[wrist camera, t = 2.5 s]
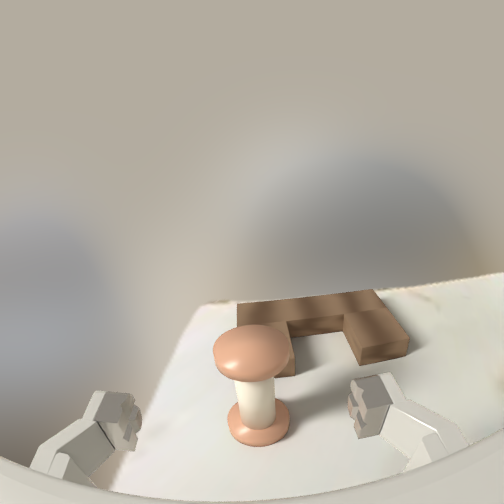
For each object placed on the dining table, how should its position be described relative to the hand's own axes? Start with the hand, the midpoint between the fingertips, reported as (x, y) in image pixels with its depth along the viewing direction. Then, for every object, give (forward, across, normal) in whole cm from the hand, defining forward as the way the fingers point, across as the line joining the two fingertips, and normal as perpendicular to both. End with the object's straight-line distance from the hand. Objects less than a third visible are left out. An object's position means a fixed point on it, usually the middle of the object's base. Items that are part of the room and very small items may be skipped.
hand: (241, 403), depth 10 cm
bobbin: (+13, 0, +19) cm, 23 cm away
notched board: (+27, -9, +18) cm, 34 cm away
